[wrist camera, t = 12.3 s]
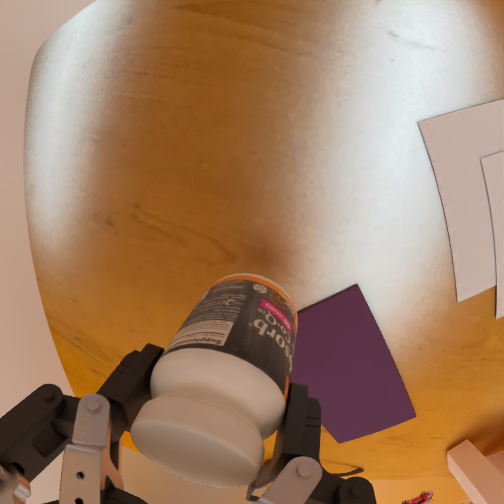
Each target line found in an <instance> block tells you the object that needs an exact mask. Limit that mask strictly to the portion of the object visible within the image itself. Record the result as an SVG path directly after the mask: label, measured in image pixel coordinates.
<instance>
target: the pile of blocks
mask: <svg viewBox="0 0 504 504" xmlns="http://www.w3.org/2000/svg"><path fill="white" fill-rule="evenodd" d="M447 458H448V469H449V471H450V472H451V473H452V475H453V476H454V477H455V479H456V480H457V481H458V483H459V484H460V486H461V487H462V489H463V490H464V491H465V493H466V494H467V495H468V497H469V498H470V500H471V501H472V502H468V503H462V504H504V450H502V451H499V452H497V453H494V454H491V455H489V456H486V457H484V456H483V455H482V454H481V453H480V452H479V450H478V449H477V448H476V447H475V446H474V445H473V444H472V443H471V442H470V441H469V440H468V439H466V440H465V441H463V442H462V443H460V444H459V445H457V446H455V447H454V448H452V449H451V450H449V451H447Z"/></svg>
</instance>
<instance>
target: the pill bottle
mask: <svg viewBox="0 0 504 504" xmlns="http://www.w3.org/2000/svg"><path fill="white" fill-rule="evenodd" d="M297 325H298V318H297V311H296V307H295V305H294V303H293V301H292V299H291V297H290V296H289V295H288V293H287V292H286V291H285V290H284V289H283V288H282V287H281V286H279V285H278V284H277V283H275V282H274V281H272V280H270V279H268V278H266V277H263V276H260V275H256V274H250V273H238V274H232V275H228V276H225V277H223V278H221V279H219V280H218V281H216V282H215V283H213V284H212V285H211V286H210V287H209V288H208V290H207V291H206V292H205V293H204V294H203V296H202V297H201V299H200V300H199V302H198V303H197V305H196V306H195V308H194V309H193V310H192V312H191V313H190V315H189V316H188V318H187V319H186V320H185V322H184V323H183V325H182V326H181V328H180V329H179V331H178V332H177V333H176V335H175V336H174V337H173V339H172V341H171V342H170V344H169V345H168V347H167V348H166V350H165V351H164V353H163V354H162V356H161V357H160V359H159V360H158V362H157V363H156V365H155V367H154V369H153V372H152V375H151V380H150V391H151V396H152V400H149V401H148V402H146V403H145V404H144V405H143V406H142V408H141V410H140V412H139V414H138V415H137V417H136V419H135V421H134V422H133V424H132V427H131V430H130V435H131V438H132V441H133V443H134V444H135V446H136V447H137V448H138V449H139V451H140V452H141V453H142V454H143V455H144V456H146V457H147V458H148V459H149V460H151V461H152V462H153V463H155V464H156V465H157V466H159V467H161V468H162V469H164V470H166V471H168V472H170V473H172V474H174V475H176V476H178V477H180V478H183V479H185V480H189V481H191V482H194V483H198V484H202V485H207V486H212V487H220V488H235V487H241V486H245V485H249V484H251V483H252V482H253V481H255V480H256V478H257V477H258V475H259V472H260V468H261V465H262V461H263V456H264V445H263V440H265V439H267V438H268V437H270V436H271V435H272V434H273V433H274V432H275V431H276V430H277V429H278V428H279V426H280V425H281V423H282V421H283V418H284V415H285V411H286V406H287V399H288V392H289V386H290V377H291V371H292V364H293V357H294V350H295V342H296V334H297Z"/></svg>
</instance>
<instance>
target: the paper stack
mask: <svg viewBox="0 0 504 504" xmlns="http://www.w3.org/2000/svg"><path fill="white" fill-rule="evenodd" d="M418 124H419V127H420V130H421V133H422V135H423V138H424V141H425V144H426V147H427V150H428V153H429V156H430V159H431V163H432V166H433V169H434V173H435V176H436V180H437V183H438V187H439V191H440V195H441V199H442V203H443V208H444V212H445V217H446V222H447V227H448V232H449V237H450V243H451V249H452V256H453V263H454V271H455V280H456V289H457V302H461V301H463V300H465V299H467V298H470V297H472V296H474V295H476V294H478V293H480V292H483V291H485V290H487V289H489V288H491V287H493V286H495V285H497V312H496V319H498V318H500V317H502V316H504V99H503V100H498V101H494V102H490V103H486V104H482V105H478V106H474V107H470V108H466V109H462V110H459V111H455V112H451V113H448V114H444V115H441V116H437V117H434V118H430V119H427V120H424V121H420V122H418Z"/></svg>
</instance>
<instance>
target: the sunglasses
mask: <svg viewBox="0 0 504 504" xmlns="http://www.w3.org/2000/svg"><path fill="white" fill-rule="evenodd" d="M271 462H272V460H269V461H267V462H266V463H265V464H264V465H263V466H262V468H261V469H260V472H259V475H258V477H257V478H256V480H255V481H253V482H252V483H251V484H249V486H248V491H247V497H246V500H247V501H252V502H256V501H257V500H258V499H259V498H260V497H257V496H253V495H251V494H252V493H253V491H254V490H255V489H259V488H262V487H264V486H266V485H268V484H269V483H271V482H273V481H274V479H275V476H269V473H270V468H271ZM363 471H364V470H363V469H360V468H358V469H356V470H353V471H351V472H347V473H340V474H332V475H335V476H338V477H344V476H349V475H354V474H358V473H361V472H363Z"/></svg>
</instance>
